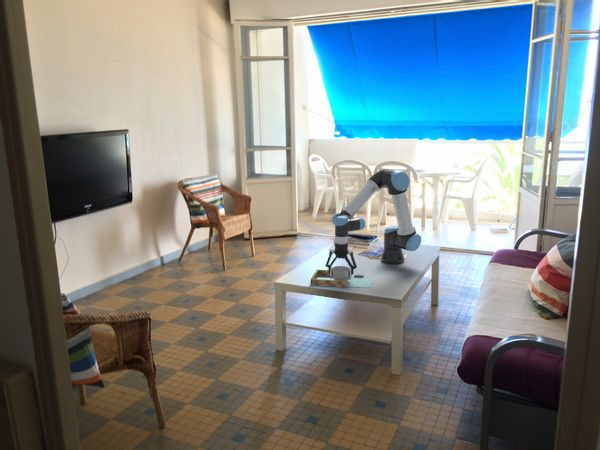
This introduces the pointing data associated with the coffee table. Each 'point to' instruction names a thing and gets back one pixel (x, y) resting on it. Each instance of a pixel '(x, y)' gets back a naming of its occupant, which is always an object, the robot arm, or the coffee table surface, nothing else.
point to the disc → (358, 276)
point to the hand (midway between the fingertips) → (340, 278)
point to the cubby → (326, 282)
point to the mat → (360, 282)
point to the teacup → (340, 273)
